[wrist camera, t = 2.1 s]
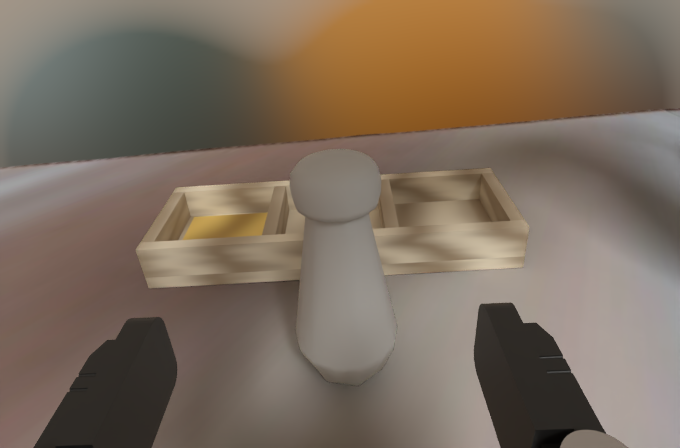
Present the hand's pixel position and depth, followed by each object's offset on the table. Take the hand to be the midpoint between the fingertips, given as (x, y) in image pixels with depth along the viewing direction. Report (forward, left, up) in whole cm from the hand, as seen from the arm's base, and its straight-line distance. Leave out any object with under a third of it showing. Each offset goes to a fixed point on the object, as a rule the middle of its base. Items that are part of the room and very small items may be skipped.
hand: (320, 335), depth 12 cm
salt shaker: (0, -11, -13) cm, 17 cm away
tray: (+1, -24, -13) cm, 28 cm away
